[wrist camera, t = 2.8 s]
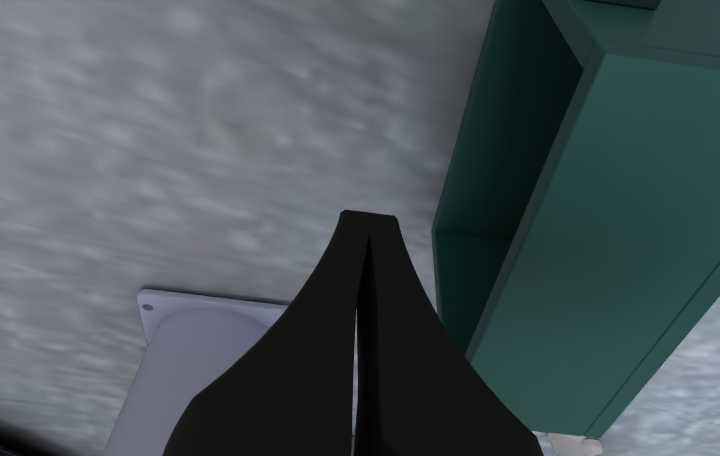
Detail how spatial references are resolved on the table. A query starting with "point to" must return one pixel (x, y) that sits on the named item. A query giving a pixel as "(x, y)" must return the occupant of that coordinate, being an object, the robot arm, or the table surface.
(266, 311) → the robot arm
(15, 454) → the speaker
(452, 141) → the table surface
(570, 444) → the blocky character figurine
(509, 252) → the teal open crate
